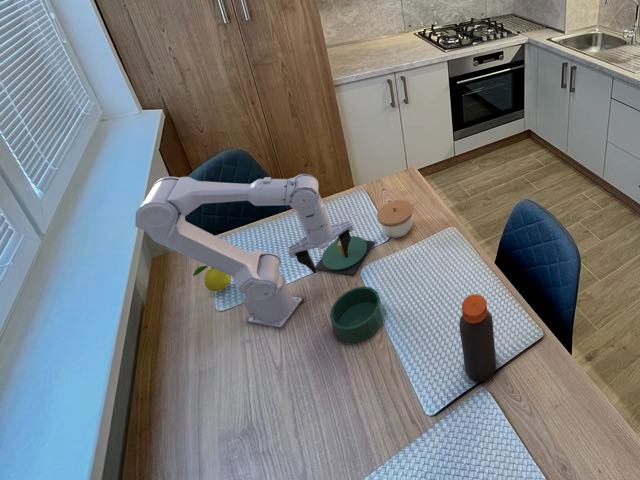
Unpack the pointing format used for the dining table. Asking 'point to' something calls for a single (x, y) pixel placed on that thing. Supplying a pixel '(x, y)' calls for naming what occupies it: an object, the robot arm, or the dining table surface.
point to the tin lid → (335, 256)
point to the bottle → (477, 338)
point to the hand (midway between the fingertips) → (330, 262)
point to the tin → (357, 315)
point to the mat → (346, 271)
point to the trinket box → (396, 218)
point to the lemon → (214, 278)
